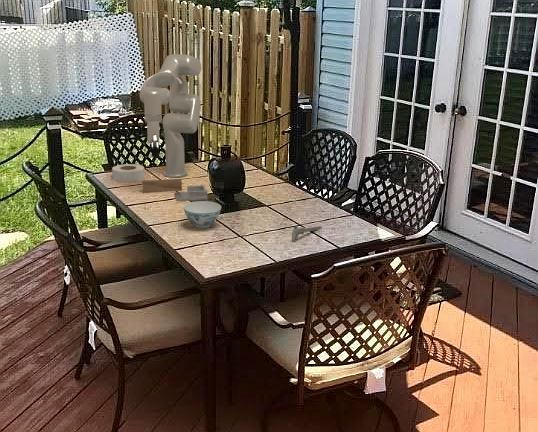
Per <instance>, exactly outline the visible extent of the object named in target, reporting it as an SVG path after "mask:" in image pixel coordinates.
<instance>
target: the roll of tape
mask: <svg viewBox="0 0 538 432" xmlns="http://www.w3.org/2000/svg"><path fill="white" fill-rule="evenodd" d="M111 173H112V174H111V175H112V177H111V178H112V180H113V181H115V182H120V183H134V182H140V181H143V180H144V179H145V167H144V166H143V165H142V164H134V163H126V164H119V165H115V166H113V167H112V168H111Z"/></svg>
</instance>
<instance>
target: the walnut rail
mask: <svg viewBox="0 0 538 432" xmlns="http://www.w3.org/2000/svg"><path fill="white" fill-rule="evenodd" d="M141 181H142V193H143V194H151V193H167V192H168V193H171V192H183V185H182V184H183V182H182V179H181V178H169V179H167V178H166V179H148V180H147V179H146V180H144V179H143V180H141Z"/></svg>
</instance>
